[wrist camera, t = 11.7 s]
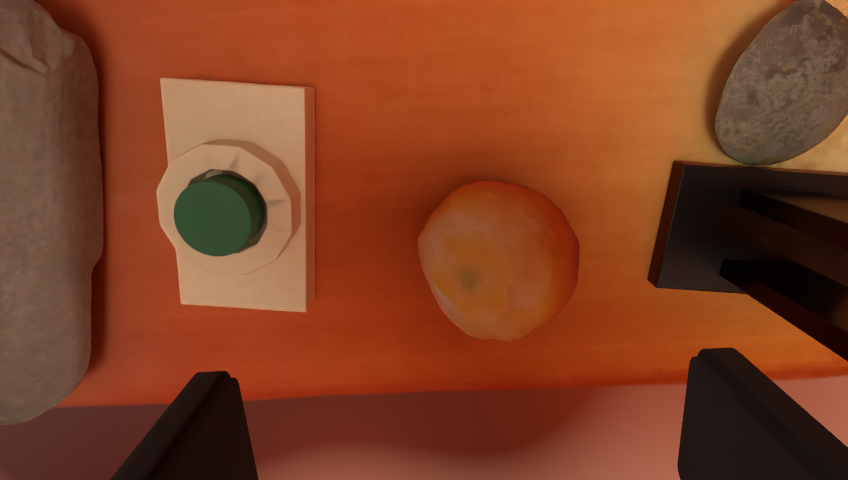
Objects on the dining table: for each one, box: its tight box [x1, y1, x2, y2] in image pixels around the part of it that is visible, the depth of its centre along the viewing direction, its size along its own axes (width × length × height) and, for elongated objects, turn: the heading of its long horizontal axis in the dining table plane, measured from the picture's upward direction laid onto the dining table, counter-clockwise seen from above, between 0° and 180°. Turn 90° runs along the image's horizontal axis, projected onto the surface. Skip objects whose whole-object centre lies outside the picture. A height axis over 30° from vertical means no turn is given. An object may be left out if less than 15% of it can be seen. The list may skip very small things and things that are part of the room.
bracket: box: [648, 161, 848, 361], centre depth 22 cm, size 11×7×12 cm, turn 86°
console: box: [156, 78, 315, 312], centre depth 26 cm, size 12×7×4 cm, turn 176°
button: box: [174, 174, 264, 257], centre depth 23 cm, size 4×4×2 cm
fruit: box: [417, 181, 579, 341], centre depth 25 cm, size 8×8×8 cm
